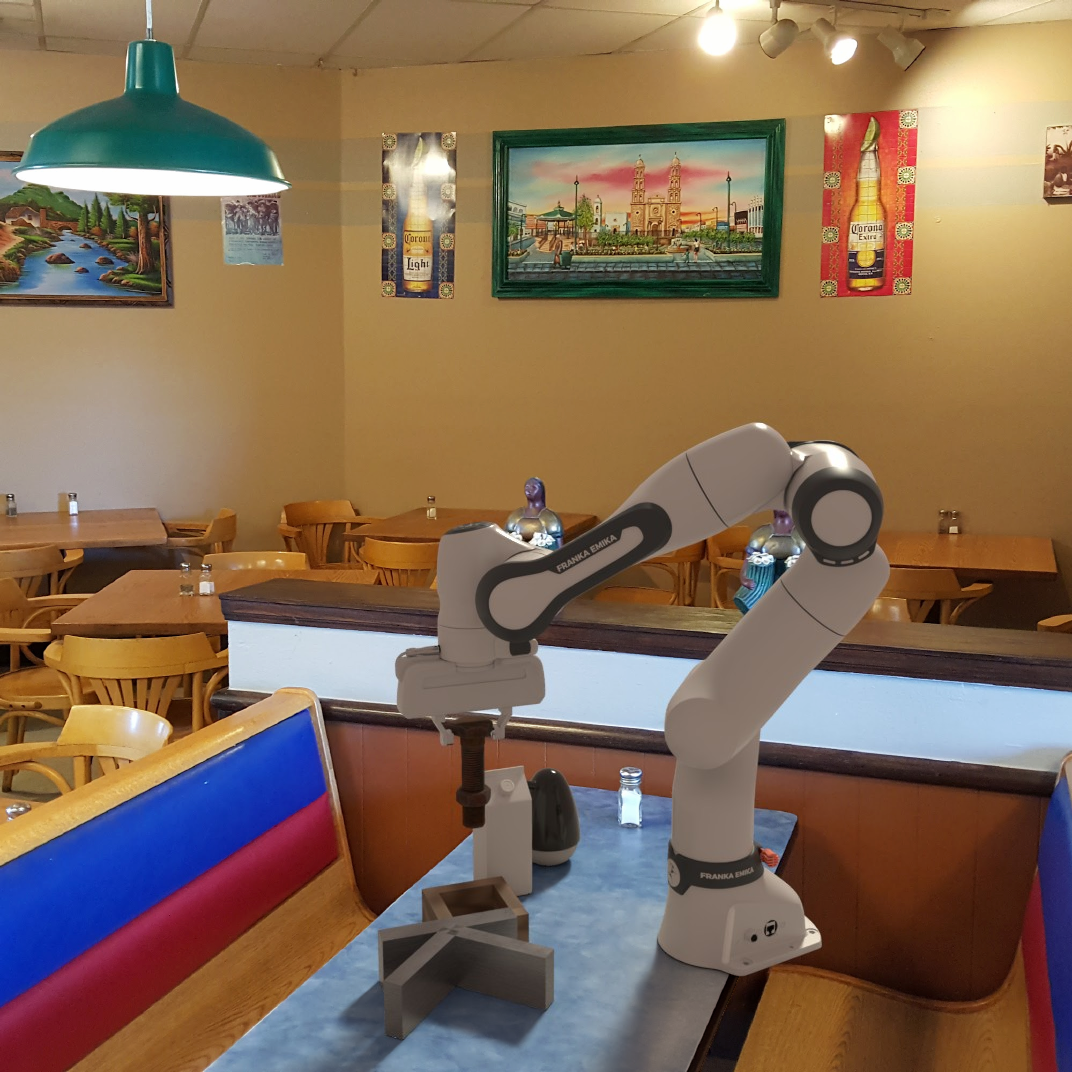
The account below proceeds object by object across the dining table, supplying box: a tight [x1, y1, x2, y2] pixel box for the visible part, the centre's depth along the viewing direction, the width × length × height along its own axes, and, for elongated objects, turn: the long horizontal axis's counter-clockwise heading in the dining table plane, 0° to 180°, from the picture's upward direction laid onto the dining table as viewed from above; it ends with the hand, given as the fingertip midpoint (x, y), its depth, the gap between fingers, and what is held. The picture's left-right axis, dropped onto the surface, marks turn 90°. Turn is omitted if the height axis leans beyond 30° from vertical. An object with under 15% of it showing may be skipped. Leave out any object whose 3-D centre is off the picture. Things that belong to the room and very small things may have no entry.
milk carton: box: [472, 765, 533, 897], centre depth 171 cm, size 7×7×19 cm
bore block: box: [421, 876, 530, 943], centre depth 158 cm, size 12×12×5 cm
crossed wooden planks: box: [377, 907, 555, 1040], centre depth 143 cm, size 22×14×7 cm, turn 110°
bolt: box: [451, 715, 494, 830], centre depth 154 cm, size 6×5×15 cm
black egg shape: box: [526, 767, 581, 867], centre depth 181 cm, size 10×10×15 cm
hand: (472, 741), depth 154 cm, fingers closed on bolt, 6 cm apart
